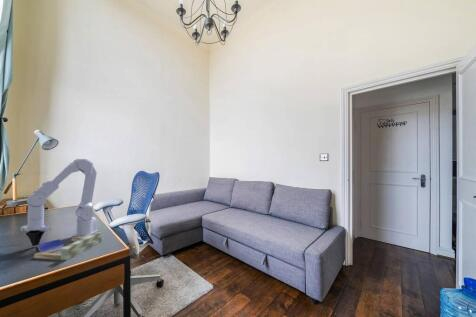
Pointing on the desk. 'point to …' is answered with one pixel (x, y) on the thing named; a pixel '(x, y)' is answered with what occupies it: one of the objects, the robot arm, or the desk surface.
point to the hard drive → (50, 246)
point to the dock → (73, 247)
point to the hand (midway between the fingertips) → (35, 245)
